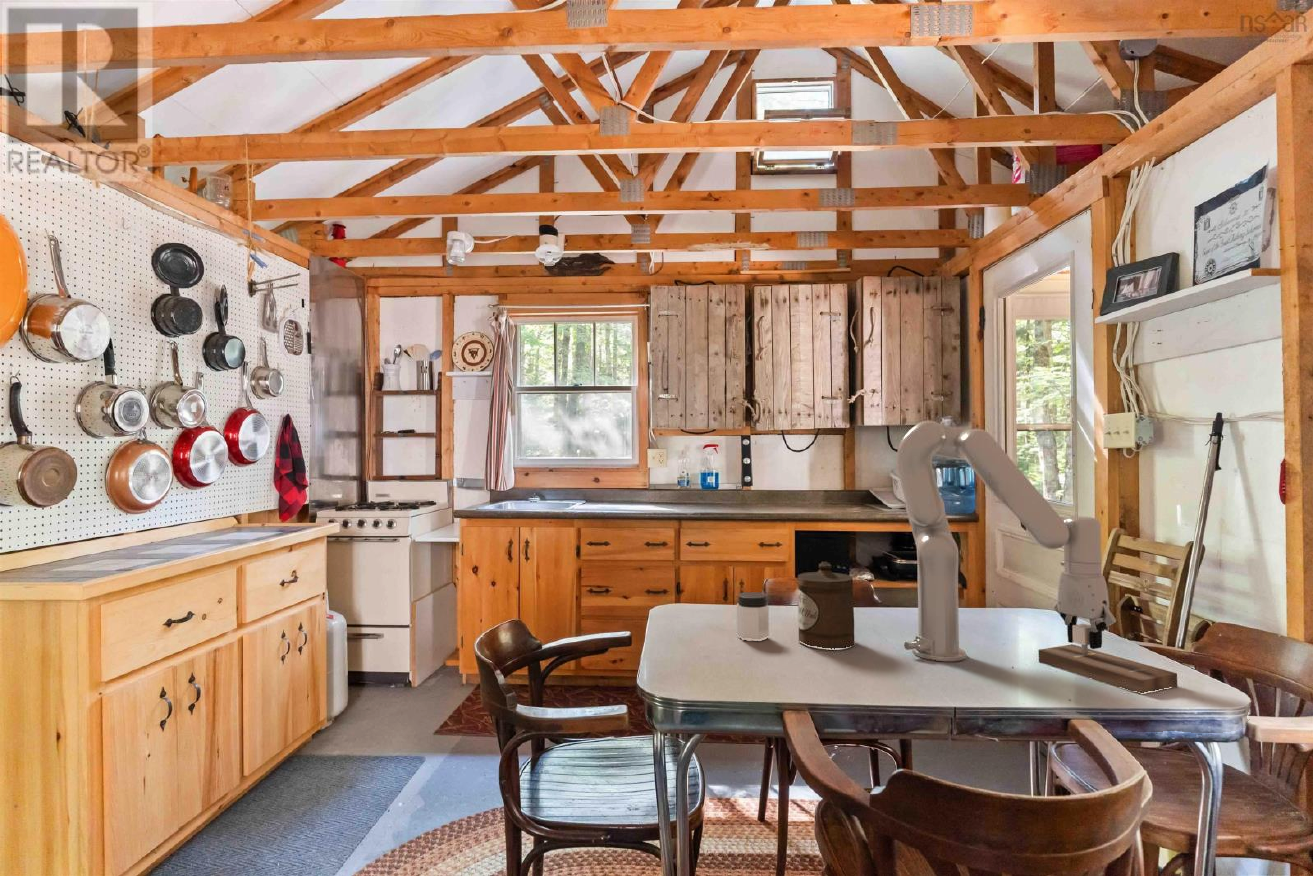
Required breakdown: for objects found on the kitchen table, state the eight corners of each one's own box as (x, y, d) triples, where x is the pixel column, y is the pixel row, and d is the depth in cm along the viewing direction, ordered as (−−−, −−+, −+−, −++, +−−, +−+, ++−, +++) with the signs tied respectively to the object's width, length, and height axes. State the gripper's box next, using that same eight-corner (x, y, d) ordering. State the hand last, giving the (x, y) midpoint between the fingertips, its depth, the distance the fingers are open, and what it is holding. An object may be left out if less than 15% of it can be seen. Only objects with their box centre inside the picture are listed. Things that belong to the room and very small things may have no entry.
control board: (1141, 694, 139) (1141, 680, 139) (1038, 662, 162) (1038, 649, 162) (1177, 687, 144) (1177, 673, 144) (1072, 656, 166) (1072, 644, 166)
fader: (1085, 656, 155) (1084, 628, 155) (1073, 653, 158) (1072, 625, 158) (1096, 654, 156) (1096, 626, 157) (1084, 651, 159) (1083, 623, 159)
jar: (772, 641, 181) (772, 597, 181) (744, 643, 179) (744, 599, 179) (760, 632, 190) (760, 591, 190) (733, 634, 188) (733, 592, 188)
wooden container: (794, 635, 187) (793, 558, 187) (846, 635, 186) (845, 558, 187) (804, 651, 172) (803, 566, 173) (861, 651, 172) (860, 566, 172)
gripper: (1039, 564, 164) (1041, 637, 164) (1107, 575, 148) (1109, 657, 148) (1060, 562, 167) (1062, 634, 166) (1129, 573, 151) (1131, 653, 151)
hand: (1084, 644), depth 157 cm, fingers open, 4 cm apart
